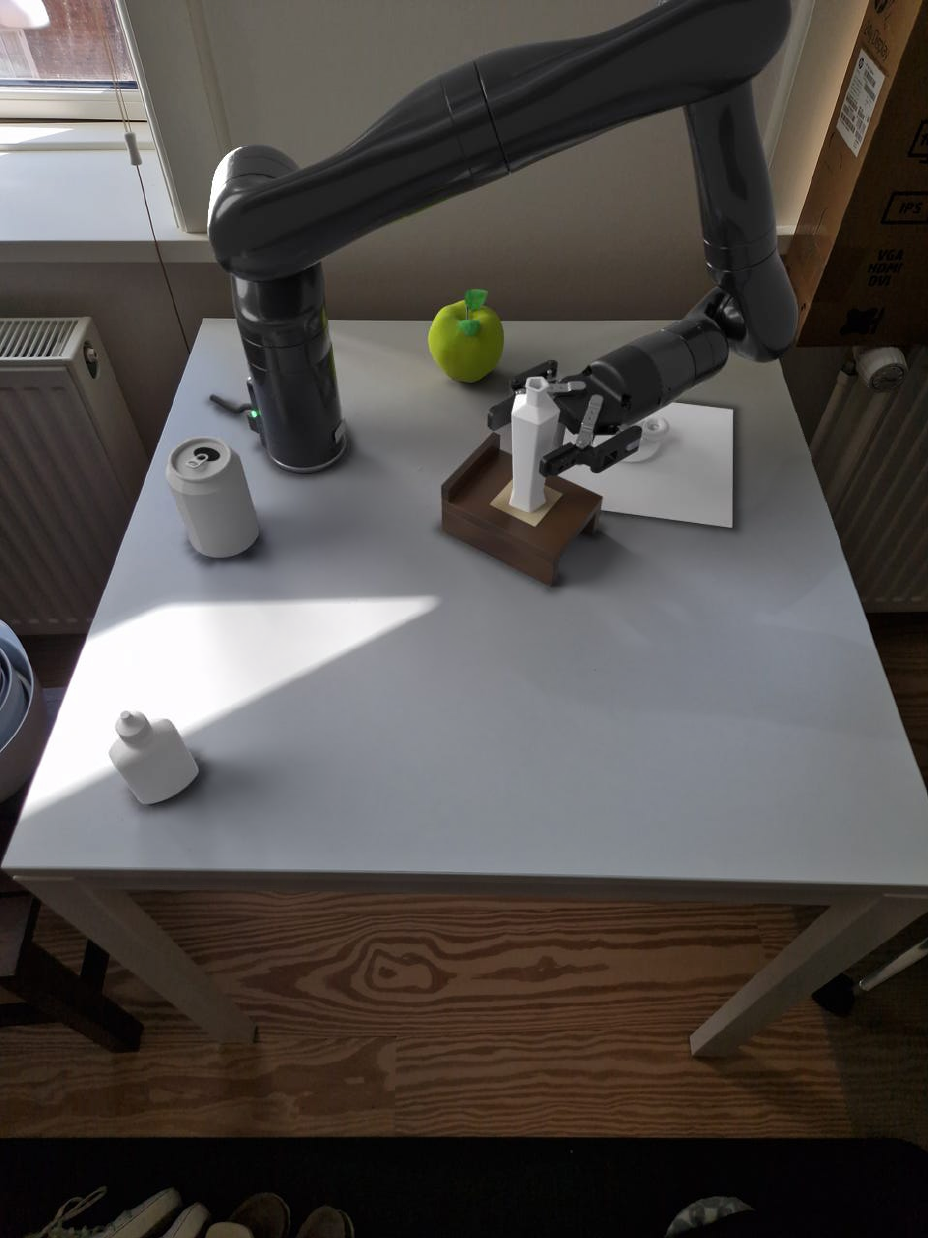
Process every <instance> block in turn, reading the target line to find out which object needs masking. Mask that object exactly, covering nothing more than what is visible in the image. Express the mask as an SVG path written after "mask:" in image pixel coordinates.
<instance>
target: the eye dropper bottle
mask: <svg viewBox="0 0 928 1238" xmlns="http://www.w3.org/2000/svg"><path fill="white" fill-rule="evenodd" d="M114 728H115V729H114V730H115V732H116V734H117V735H118V736H119V737H117V739H116V740H115V741H114V742H113V743H112V745H111V746H110V748H109V750H108V756H109V758H110V760H111V763H112V764H113V766H114V768H115V769H116V771H117V773H118V774H119V775H120V777H121V778H122V779H123V781H124V783H125V784H126V785H127V786H128V788H129V789H130V791H131V792H132V793H133V794H134V796H135V797H136V798H137V801H139V802H140V803H141V804H142V805H143V804H144V805H151V804H156V803H159V802H162V801H165V800H168V799H170V798H171V797H174V796H176V795H177V794H179V793H181V792H182V791H184V790H185V788H187V787H188V786H189V785H190V784H191V783H192V782H193V781H194V780H195V779H196V777H197V776H198V775H199V771H200V770H199V766H198V764H197V762H196V761H195V759H194V757H193V755H192V754H191V752H190V750H189V748H188V746H187V745H186V743H185V741H184V739H183V738H182V736H181V734H180V733H179V731H178V729H177V727H176V726H175V724H174V723H173V721H172V720H170V718H164V717H162V718H161V717H160V718H154V719H148V718H147V717H146V715H145V714H144V713H143V712H141V711H139V710H134V709H133V710H123V711H122V712H120V714H119V716H118V718H117V719H116V722H115V726H114Z"/></svg>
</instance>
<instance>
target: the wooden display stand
mask: <svg viewBox="0 0 928 1238" xmlns="http://www.w3.org/2000/svg"><path fill="white" fill-rule="evenodd" d="M501 437H502V436H501V434H499V433H498V432H495V431H492V432H491V433H490V434H489V435H488V436H487V437H486V438H485V439H484V440H483V441H482V442H481V443H480V445H478V447H477V448H476V449H475V450H474V451H473V452H471V454H470V455H469V456H468V457H467V458H466V459H465V460H464V461H463V462H462V463H461V464H460V465H459V466H458V467H457V468H456V469H455V470H454V471H453V472H452V474H450V476H449V477H447V478H446V480H444V481H443V482H442V484H441V485H440V501H441V503H440V504H441V531H442V532H444V533H445V534H448V535H449V536H451V537H454V538H455V539H457V540H459V541H461V542H462V543H465V544H467V545H469V546H471V547H473V548H474V549H476V550H478V551H481V552H483V553H484V554H487V555H488V556H490V557H493V558H494V559H496V560H498V561H500V562H502V563H504V564H506V565H508V566H509V567H512V568H513V569H515V570H518V571H519V572H522V573H524V574H526V575H528V576H530V577H531V578H533V579H535V580H537V581H539V582H540V583H543V584H545V585H547V586H548V587H553V586H554V584H555V583H556V582H557V580H558V574H559V568H560V562H561V561H560V560H561V558H562V557H563V555H564V553H566V552H567V550H568V549H569V548H570V546H571V545H572V543H573V542H574V541H575V540H576V539H577V537H578V536H579V535H580V534H581V532H582V531H584V532H586V533H588V534H589V535H593V534H594V533H595V532H596V531H597V529H598V526H599V521H600V517H601V511H602V510H601V506H602V500H603V496H601V495H599V494H597V493H594V492H592V491H590V490H588V489H586V488H584V487H581V486H579V485H577V484H575V483H573V482H571V481H568V480H566V479H564V478H562V477H560V476H558V475H556V476H551V475H550V476H548V477H546V480H545V484H544V489H543V491H544V495H545V499H546V502H545V503H544V504H543V505H541V506H540V507H538V508H537V509H536V510H534V511H533V512H531V513H528V512H525V511H523V510H520V509H518V508H515V507H513V506H511V505H510V504H509V502H510V498H511V494H512V490H513V453H510V452H508V451H506V450H503V449H501Z"/></svg>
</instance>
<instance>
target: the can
mask: <svg viewBox="0 0 928 1238" xmlns="http://www.w3.org/2000/svg"><path fill="white" fill-rule="evenodd" d="M164 475H165V478H166V483H167V485H168V487H169V490H170V493H171V494H172V497H173V500H174V503H175V506H176V507H177V510H178V513H179V515H180V518H181V520H182V523H183V526H184V528H185V531H186V533H187V536H188V538H189V541H190V544H191V546H192V547H193V548H194V549H195V550H196V551H197V552H198V553H200V554H201V555H203V556H205V557H210V558H214V559H215V558H217V559H219V558H229V557H230V558H231V557H233V556H236V555H239V554H241V553H243V552H245V551H246V550H248V549H249V548H250V547H251V546H252V545H253V544H254V543H255V542H256V540H257V538H258V537H259V535H260V526H261V525H260V524H259V523H260V522H259V519H258V516H257V512H256V509H255V505H254V502H253V498H252V495H251V491H250V488H249V484H248V481H247V478H246V473H245V471H244V467H243V463H242V460H241V457H240V454H238V453H237V451H236V450H235V449H234V448H232V447H231V446H230V445H229V444H228V442H226V441H225V440H223V439H221V438H219V437H215V436H210V435H205V436H203V435H202V436H195V437H191V438H189V439H185V440H184V441H182V442H180V443H179V444H178V445H176V446H175V447H174V448H173V449H172V450H171V452H170V453H169V455H168V459H167V465H166V469H165V473H164Z"/></svg>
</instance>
